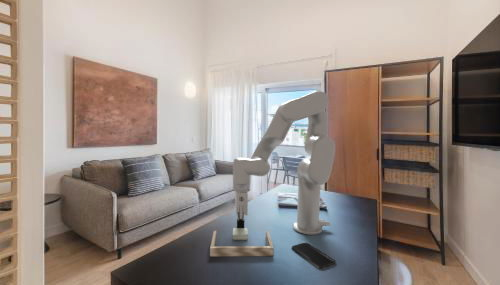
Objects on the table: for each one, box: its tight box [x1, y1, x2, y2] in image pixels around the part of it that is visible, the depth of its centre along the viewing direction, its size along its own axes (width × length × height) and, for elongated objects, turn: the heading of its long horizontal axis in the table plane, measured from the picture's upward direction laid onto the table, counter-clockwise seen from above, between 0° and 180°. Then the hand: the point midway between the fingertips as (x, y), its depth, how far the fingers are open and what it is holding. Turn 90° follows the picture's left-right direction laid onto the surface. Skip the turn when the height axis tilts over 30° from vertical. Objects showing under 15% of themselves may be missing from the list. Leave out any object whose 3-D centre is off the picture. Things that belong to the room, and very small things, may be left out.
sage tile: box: [232, 227, 249, 241], centre depth 96 cm, size 6×6×2 cm
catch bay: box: [209, 230, 274, 257], centre depth 88 cm, size 22×14×3 cm, turn 93°
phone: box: [291, 242, 337, 270], centre depth 83 cm, size 8×1×15 cm
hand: (240, 228), depth 101 cm, fingers closed
